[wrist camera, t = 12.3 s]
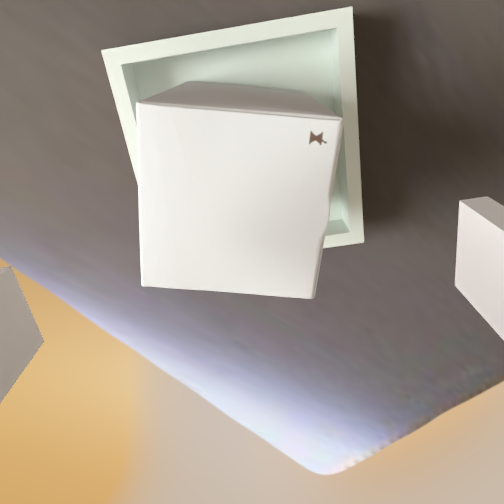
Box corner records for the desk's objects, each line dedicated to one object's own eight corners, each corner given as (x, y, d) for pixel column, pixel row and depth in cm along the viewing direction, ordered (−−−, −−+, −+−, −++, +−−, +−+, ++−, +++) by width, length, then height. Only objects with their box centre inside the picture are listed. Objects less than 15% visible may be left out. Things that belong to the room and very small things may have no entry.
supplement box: (183, 77, 31) (130, 92, 17) (306, 89, 31) (352, 113, 17) (180, 198, 34) (135, 290, 21) (290, 207, 35) (317, 304, 21)
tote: (118, 51, 31) (101, 50, 27) (339, 12, 30) (352, 6, 26) (169, 250, 37) (161, 271, 34) (352, 224, 36) (364, 242, 33)
